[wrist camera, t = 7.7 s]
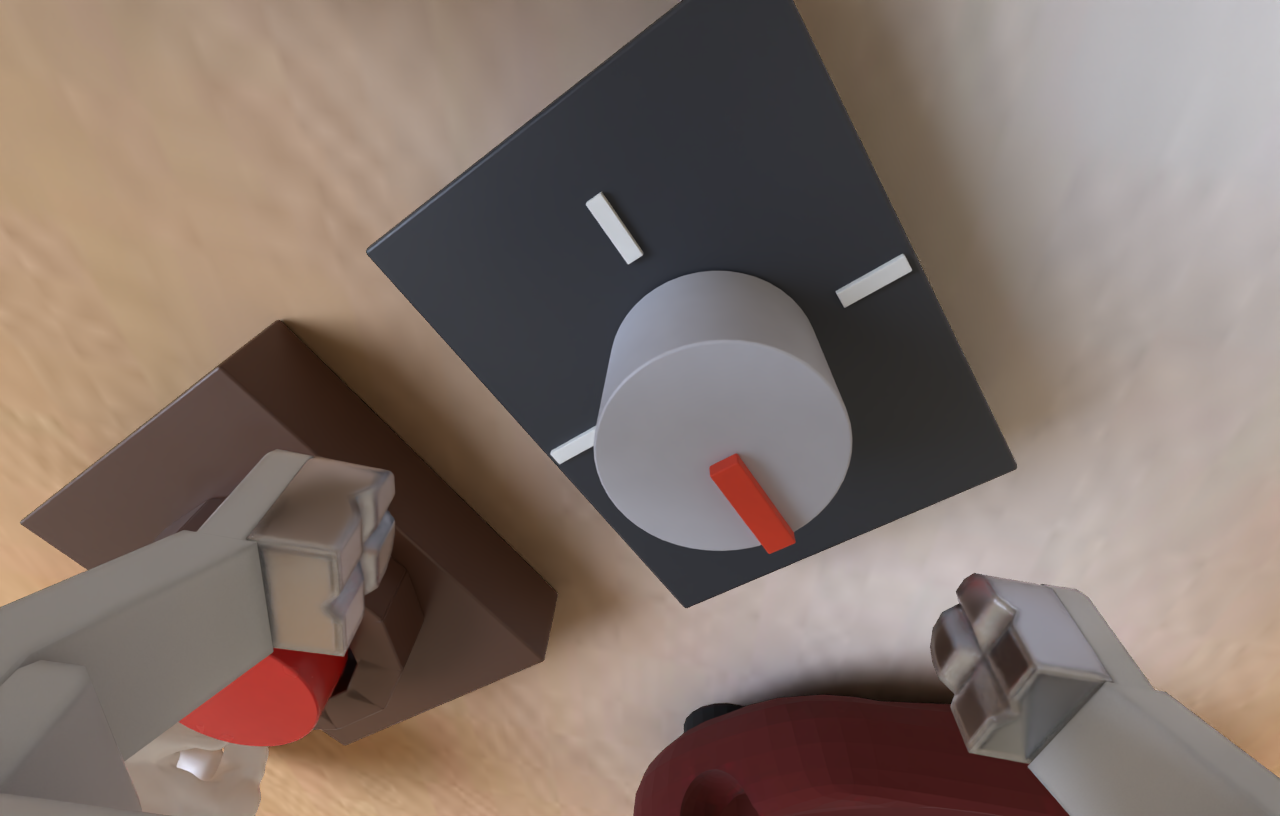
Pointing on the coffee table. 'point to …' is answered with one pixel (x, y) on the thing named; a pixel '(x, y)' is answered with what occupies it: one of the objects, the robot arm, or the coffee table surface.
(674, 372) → the dial
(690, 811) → the ashtray
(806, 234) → the dial panel
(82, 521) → the button housing
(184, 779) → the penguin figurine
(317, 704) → the power button
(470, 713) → the coffee table surface
